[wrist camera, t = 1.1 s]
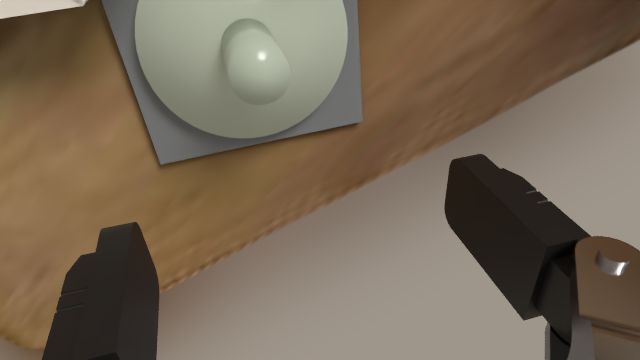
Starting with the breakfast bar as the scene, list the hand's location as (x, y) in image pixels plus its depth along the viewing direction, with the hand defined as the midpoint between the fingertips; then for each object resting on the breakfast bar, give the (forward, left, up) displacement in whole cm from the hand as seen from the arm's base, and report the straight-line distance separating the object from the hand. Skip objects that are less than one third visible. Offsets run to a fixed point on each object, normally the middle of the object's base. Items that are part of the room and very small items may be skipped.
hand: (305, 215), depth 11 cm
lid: (-1, +1, -18) cm, 18 cm away
